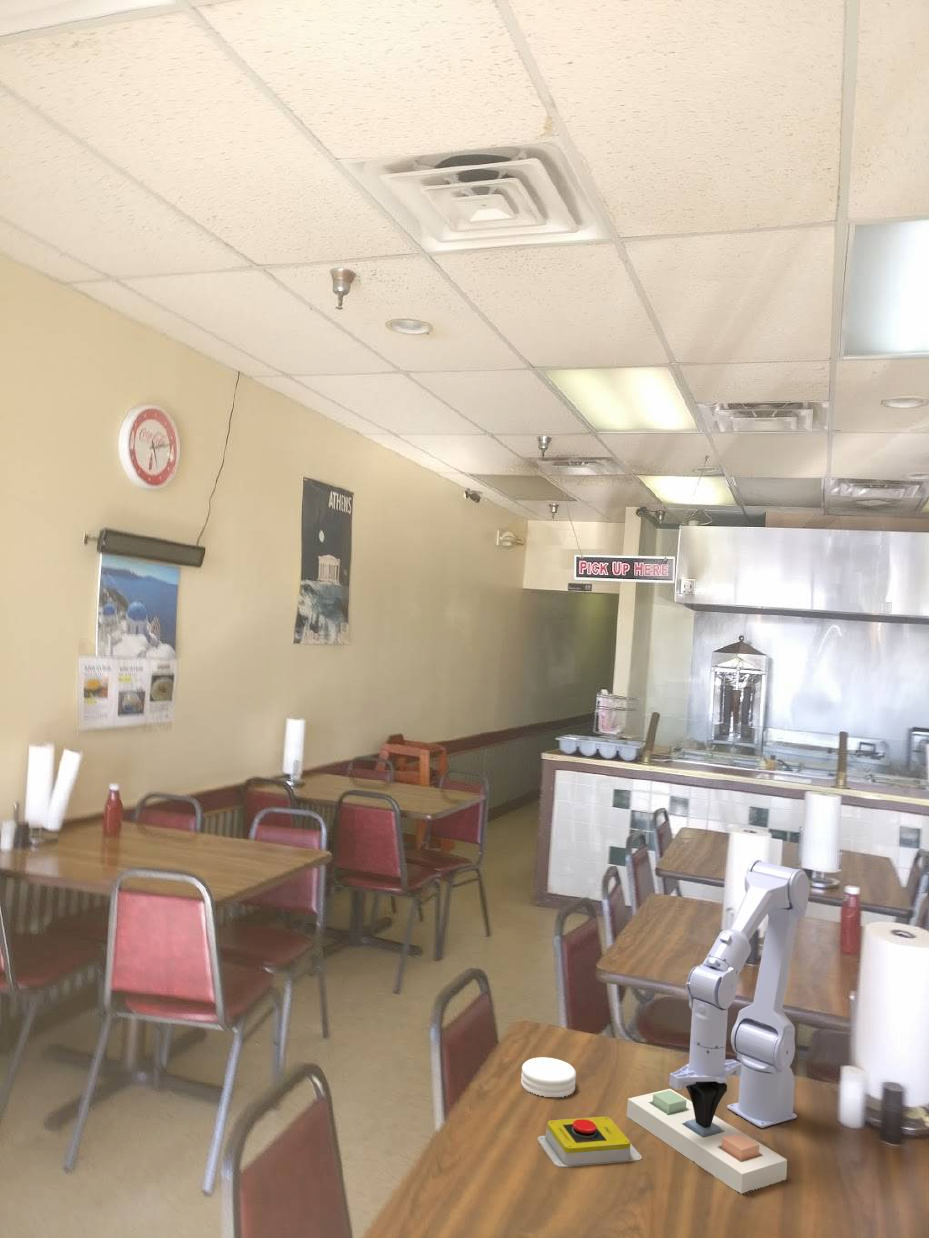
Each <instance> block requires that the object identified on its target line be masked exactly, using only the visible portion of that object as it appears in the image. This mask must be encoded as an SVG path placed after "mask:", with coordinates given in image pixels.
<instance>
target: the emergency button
mask: <svg viewBox="0 0 929 1238" xmlns="http://www.w3.org/2000/svg"><path fill="white" fill-rule="evenodd" d="M546 1124H547V1125H546V1130H545V1135H540V1136H538V1137H537V1141H538V1143H539V1145H540V1146H541V1148H542V1149H543V1151H544V1152H545V1153H546V1154H547V1156H548V1158H549V1159H550V1160H551V1162H552V1163H553V1164H554V1166H555V1167H556V1168H557V1167H558V1168H569V1167H571V1168H572V1167H582V1166H593V1165H594V1166H595V1165H605V1164H616V1163H626V1162H637V1161H641V1160H642V1159H643V1156H642V1155H641V1154H640V1153H639V1151H638V1150H637V1149H636V1148H635V1147H634V1145H632V1144H631V1141H630V1140H629V1138H628V1137H627V1136H626V1135H625V1134H624V1132H622V1131H621V1129H620V1128H619V1127H618V1126H617V1125H616V1123H615V1122H614V1121H613V1120H612V1119H611V1118H610V1117H608V1116H595V1117H594V1116H593V1117H582V1118H580V1117H579V1118H567V1119H566V1118H565V1119H554V1120H552V1119H551V1120H548V1122H547V1123H546Z"/></svg>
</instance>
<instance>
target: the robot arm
mask: <svg viewBox="0 0 929 1238" xmlns="http://www.w3.org/2000/svg"><path fill="white" fill-rule="evenodd" d="M744 890H745V894H744V897H743V899H742V901H741V904H740V905H739V907H738V911H737V912H736V915H735V917H734V919H733V921H732V924H731V926H730V929H724V930H722V931H720V932H719V935H718V936H717V938H716V940H715V941H714V943H713V944H712V947H711V948H710V950H709V952H708V953H707V954H706V957H705V958H704V961H703V962H702V963H701V964H698V965H696V966H694V967H693V968H691V970H690V972H689V973H688V976H687V982H686V983H685V991H686V994H687V996H688V1007H689V1009H690V1010H691V1020H690V1021H691V1022H690V1023H691V1025H690V1040H689V1041H690V1043H689V1054H688V1055H689V1056H688V1057H689V1058H688V1063H687V1064H685V1065H684V1066H682V1067H681V1068H679V1069H677V1070H676V1071H674V1072H670V1073H669V1082H668V1083H669V1086H670V1087H671V1088H673V1089H675V1090H677V1091H680V1090H682V1089H683V1088H684V1087H685V1088H686V1089H687V1093H688V1095H689V1097H690V1101H691V1102H692V1104H693V1109H694V1114H695V1119H696V1123H697V1124H699V1125H700V1126H702V1127H703V1128H708V1127H710V1126H711V1123H712V1120H713V1117H714V1116H715V1113H716V1111H717V1108H718V1107H719V1104H720V1103H721V1100H722V1099H723V1097H724V1096H725V1094H726V1093H727V1091H728V1084H727V1082H728V1079H729V1076H733V1075H734V1076H735V1077H739V1083H738V1084H739V1086H738V1100H737V1102H735V1103H731V1104H727V1109H728V1110H729V1111H732V1112H733V1113H735V1114H737V1115H738V1116H740V1117H742V1118H744V1119H745V1120H747V1121H749V1122H750V1123H751V1124H753V1125H755V1126H757V1127H758V1128H765V1127H769V1126H772V1125H777V1124H779V1123H780V1124H781V1123H784V1122H786V1121H790V1120H791V1121H792V1120H794V1119H796V1118H797V1117H798V1116H797V1114H796V1113H794V1098H795V1075H794V1072H793V1070H792V1068H791V1064H792V1062H793V1060H794V1057H795V1052H796V1044H795V1043H796V1042H795V1035H796V1028H795V1026H794V1024H793V1023H792V1022H791V1020H790V1019H789V1018H788V1017H787V1016H786V1014H785V1013H784V1012H783V1007H784V1004H785V1003H784V1001H785V996H786V990H787V986H788V985H787V984H788V979H789V973H790V966H791V962H792V955H793V948H794V946H795V945H794V944H795V938H796V934H797V933H796V932H797V926H798V921H799V918H802V917H806V911H807V908H808V901H809V896H810V890H811V884H810V880H809V878H808V876H807V873H806V871H805V870H803V869H800V868H797V869H796V868H791V867H787V866H783V865H778V864H774V863H769V862H765V861H762V860H761V859H760V860H759V859H755V860H753V861H752V862H751V863H750V864H748V867H747V868H746V871H745V876H744ZM766 916H768V919H767V925H766V930H765V936H764V941H763V946H762V951H761V958H760V964H759V968H758V974H757V979H756V986H755V992H754V996H753V1002H752V1003H751V1004H749V1005H748V1006H745V1007H743V1008H741V1009H740V1010H739V1011H738V1015H737V1018H736V1021H735V1023H734V1025H733V1027H732V1031H731V1033H730V1034H731V1035H730V1043H731V1046H732V1050H733V1052H735V1053H736V1059H737V1060H739V1061H740V1062H739V1061H737V1060H735V1059H726V1050H727V1049H726V1048H727V1029H728V1017H729V1016H728V1015H729V1013H728V1012H729V1007H731V1005H732V1004H733V1002H734V1001H735V999H736V995H737V991H738V985H739V984H740V983H739V982H740V978H739V974H740V973H741V971H742V969H743V967H744V965H745V964H746V962H747V960H748V958H749V956H750V954H751V953H752V945H751V943H750V940H751V938H753V935H754V933H755V932H756V931H757V930H758V928H759V926H760V925H761V924H762V922H763V921H764V919H765V918H766ZM769 1026H770V1027H769Z"/></svg>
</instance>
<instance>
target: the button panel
mask: <svg viewBox="0 0 929 1238" xmlns="http://www.w3.org/2000/svg"><path fill="white" fill-rule="evenodd" d="M669 1090H671V1091H672V1092H674V1093H675V1094H677V1095H679V1096H680V1097H682V1098H684V1099H685V1100H686V1111H684V1112H680V1113H676V1114H672V1115H667V1114H666V1113H664V1112H662V1111H661V1110H659V1109H658V1108H656V1107H655V1106H653V1105H652V1103H653V1094H656V1093H661V1092H665V1091H669ZM626 1117H627V1118H629V1119H630V1120H631V1121H633V1122H634V1123H636V1124H638V1125H639V1126H640V1127H642V1128H643V1129H644V1130H646V1131H647V1132H649V1133H651V1134H652V1135H653V1136H655V1137H656V1138H658V1139H660V1140H661V1141H662V1142H664V1143H665V1144H667V1145H668V1146H670V1147H671V1148H672V1149H674V1150H675V1151H677V1152H678V1153H680V1155H683V1156H684V1157H685V1158H687V1159H689V1160H690V1161H691V1162H693V1161H694V1162H695V1163H694V1162H693V1163H694V1164H696V1165H697V1166H699V1167H700V1168H702V1169H703V1170H705V1171H706V1172H707V1173H709V1174H710V1173H711V1174H710V1175H712V1176H713V1177H715V1178H716V1179H717V1180H719V1181H721V1182H722V1183H724V1184H725V1185H726V1186H728V1187H730V1188H731V1189H733V1191H735V1190H736V1191H735V1192H737V1191H738V1192H740V1193H741V1194H740V1193H739V1194H740V1195H743V1194H742V1193H744V1192H747V1191H749V1190H753V1191H755V1190H754V1189H756V1190H758V1188H759V1189H762V1188H765V1187H767V1186H770V1184H771V1185H774V1184H777V1183H780V1182H783V1181H785V1180H787V1172H788V1171H787V1170H788V1159H786V1158H785V1157H783V1156H782V1155H780V1154H779V1153H778V1152H775V1151H773V1150H772V1149H770V1148H769V1147H767V1146H765V1145H764V1144H762V1143H760V1142H759V1141H757V1140H755V1139H754V1138H753V1137H751V1136H749V1135H747V1134H745V1133H744V1132H742V1131H741V1130H739V1129H737V1128H736V1127H734V1126H732V1125H731V1124H729V1123H727V1122H725V1120H722V1119H721V1118H720V1117H718V1116H716V1115H714V1117H713V1120H712V1123H714V1124H716V1125H717V1126H719V1127H721V1133H719V1134H715V1135H712V1136H708V1137H704V1138H703V1137H701V1136H700V1135H698V1134H697V1133H695V1132H693V1131H692V1130H690V1129H689V1128H687V1127H686V1126H685V1125H686V1121H689V1120H693V1119H695V1114H694V1109H693V1104H692V1101H691V1099H689V1098H686V1096H683V1095H681V1094H680V1093H679V1092H676V1091H675V1090H673V1089H671V1088H667V1089H663V1090H659V1091H655V1092H654V1091H653V1092H651V1093H646V1094H643V1095H641V1094H640V1095H638V1096H633V1097H628V1098H627V1106H626ZM738 1133H741V1134H742V1135H744V1136H746V1137H747V1138H749V1139H751V1140H752V1141H754V1142H756V1143H757V1144H759V1157H757V1158H754V1159H750V1160H747V1161H744V1162H740V1161H738V1160H737V1159H735V1158H734V1157H732V1156H731V1155H729V1154H728V1153H726V1152H724V1151H723V1150H722V1138H724V1137H727V1136H731V1135H734V1134H738ZM782 1180H783V1181H782ZM760 1187H761V1188H760ZM738 1192H737V1193H738ZM747 1193H748V1192H747ZM744 1194H745V1193H744Z"/></svg>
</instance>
